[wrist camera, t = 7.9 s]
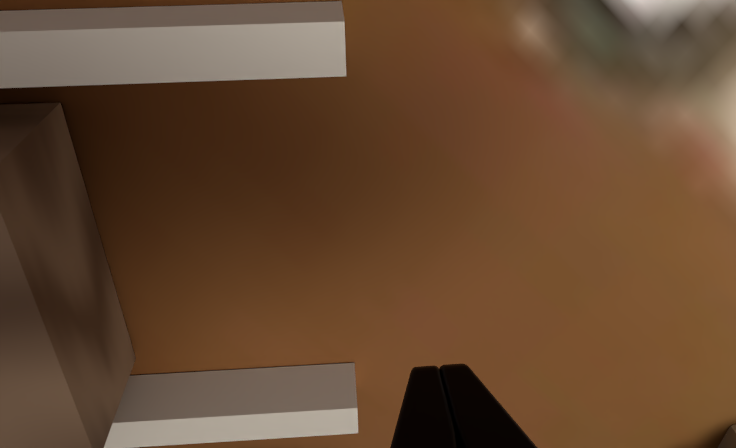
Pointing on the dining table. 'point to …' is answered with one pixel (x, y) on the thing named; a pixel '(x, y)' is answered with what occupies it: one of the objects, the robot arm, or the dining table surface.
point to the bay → (192, 64)
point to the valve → (729, 438)
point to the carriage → (54, 293)
